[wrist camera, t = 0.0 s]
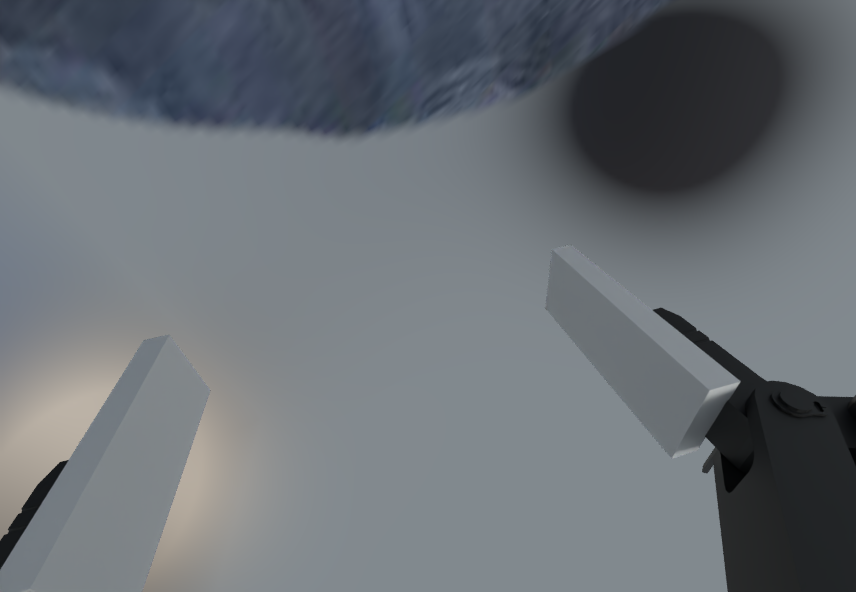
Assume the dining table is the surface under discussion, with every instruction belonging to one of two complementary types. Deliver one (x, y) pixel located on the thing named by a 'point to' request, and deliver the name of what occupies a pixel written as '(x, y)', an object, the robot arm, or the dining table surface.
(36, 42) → the dining table surface
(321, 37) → the dining table surface
